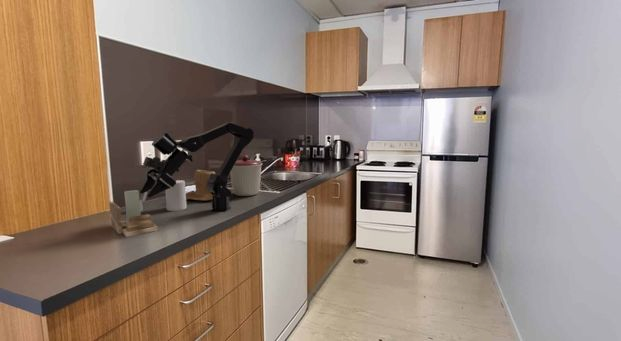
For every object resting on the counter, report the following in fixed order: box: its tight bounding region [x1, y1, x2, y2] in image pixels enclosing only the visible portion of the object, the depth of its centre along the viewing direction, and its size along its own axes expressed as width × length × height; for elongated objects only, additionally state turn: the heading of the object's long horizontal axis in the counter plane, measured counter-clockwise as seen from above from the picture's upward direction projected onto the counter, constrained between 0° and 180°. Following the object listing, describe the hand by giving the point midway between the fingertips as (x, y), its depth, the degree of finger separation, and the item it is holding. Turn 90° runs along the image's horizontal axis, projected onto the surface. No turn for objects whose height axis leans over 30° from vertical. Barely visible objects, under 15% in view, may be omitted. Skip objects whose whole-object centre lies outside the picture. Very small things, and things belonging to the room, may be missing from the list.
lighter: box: [139, 191, 148, 212], centre depth 137 cm, size 7×2×8 cm, turn 158°
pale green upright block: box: [123, 189, 142, 221], centre depth 114 cm, size 4×3×13 cm
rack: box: [108, 201, 159, 238], centre depth 112 cm, size 11×17×9 cm, turn 42°
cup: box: [164, 179, 187, 212], centre depth 140 cm, size 8×8×12 cm
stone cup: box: [186, 169, 217, 202], centre depth 157 cm, size 15×12×15 cm
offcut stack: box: [124, 213, 155, 232], centre depth 109 cm, size 8×4×4 cm, turn 132°
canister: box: [229, 154, 263, 197], centre depth 168 cm, size 18×18×21 cm
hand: (144, 194), depth 117 cm, fingers open, 9 cm apart
